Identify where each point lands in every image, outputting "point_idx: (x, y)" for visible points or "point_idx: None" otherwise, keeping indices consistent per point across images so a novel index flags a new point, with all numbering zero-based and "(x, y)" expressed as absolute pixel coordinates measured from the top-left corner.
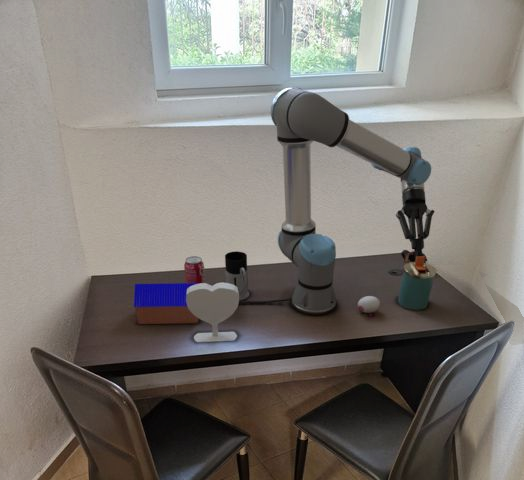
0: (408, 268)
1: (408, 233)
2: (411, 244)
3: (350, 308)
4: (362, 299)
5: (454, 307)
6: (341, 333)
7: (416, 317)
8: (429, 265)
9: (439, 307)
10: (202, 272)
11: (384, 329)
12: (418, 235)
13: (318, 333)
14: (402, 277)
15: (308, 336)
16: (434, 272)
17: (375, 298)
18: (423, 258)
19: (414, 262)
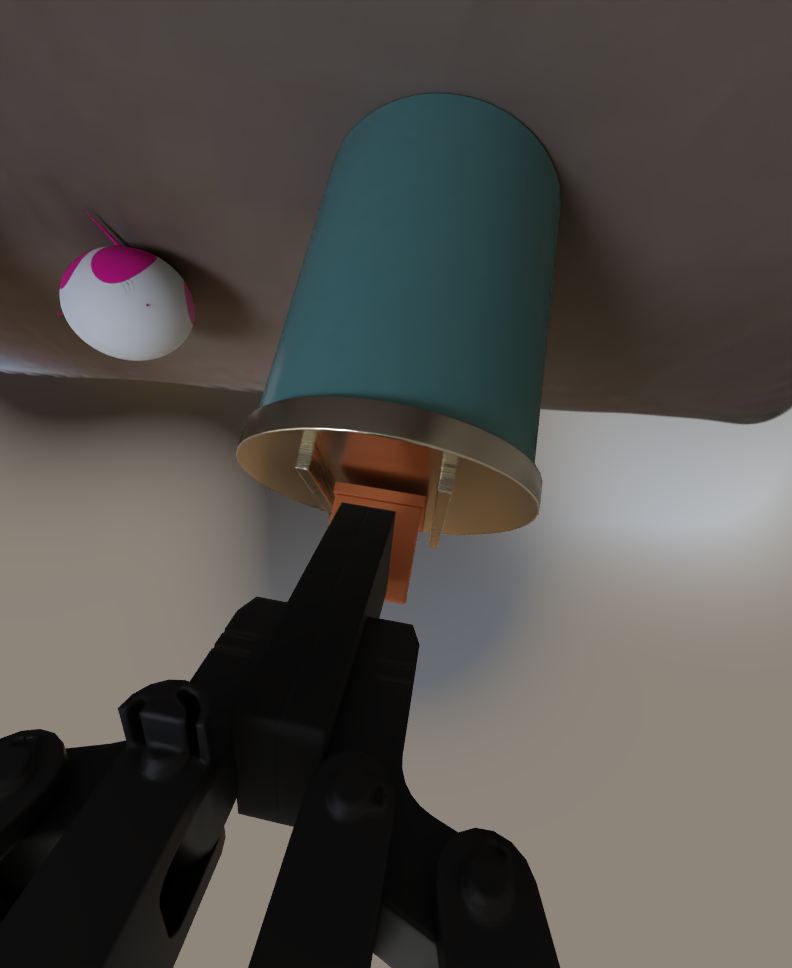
0: (282, 473)
1: (14, 901)
2: (207, 661)
3: (30, 219)
4: (78, 335)
5: (710, 312)
6: (105, 360)
7: None
8: (511, 494)
9: (603, 296)
10: None
11: (255, 372)
12: (286, 914)
13: (26, 346)
14: (277, 348)
15: (6, 351)
16: (483, 531)
17: (148, 351)
18: (393, 584)
19: (361, 439)
